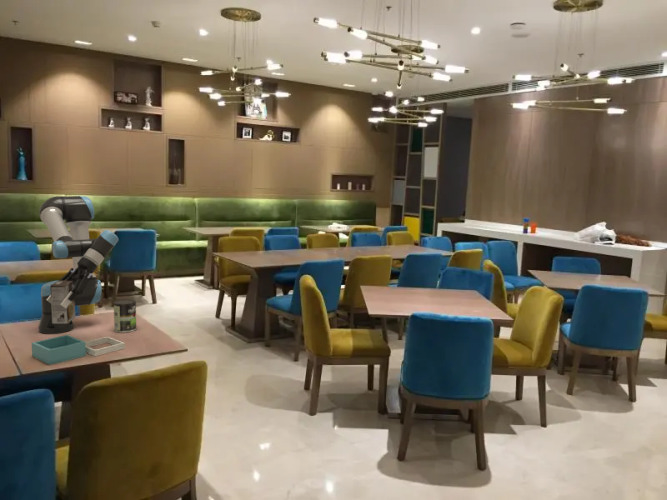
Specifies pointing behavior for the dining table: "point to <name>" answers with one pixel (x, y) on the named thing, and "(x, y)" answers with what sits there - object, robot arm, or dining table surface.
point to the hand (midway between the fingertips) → (56, 304)
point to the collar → (115, 346)
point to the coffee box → (57, 296)
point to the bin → (58, 349)
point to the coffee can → (125, 315)
